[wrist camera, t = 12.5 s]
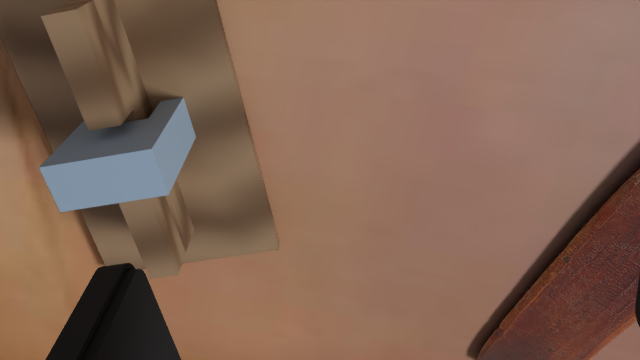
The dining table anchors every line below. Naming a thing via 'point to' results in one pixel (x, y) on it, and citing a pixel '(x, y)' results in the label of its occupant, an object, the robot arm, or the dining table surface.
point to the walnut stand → (139, 103)
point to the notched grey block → (121, 160)
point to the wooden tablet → (579, 290)
